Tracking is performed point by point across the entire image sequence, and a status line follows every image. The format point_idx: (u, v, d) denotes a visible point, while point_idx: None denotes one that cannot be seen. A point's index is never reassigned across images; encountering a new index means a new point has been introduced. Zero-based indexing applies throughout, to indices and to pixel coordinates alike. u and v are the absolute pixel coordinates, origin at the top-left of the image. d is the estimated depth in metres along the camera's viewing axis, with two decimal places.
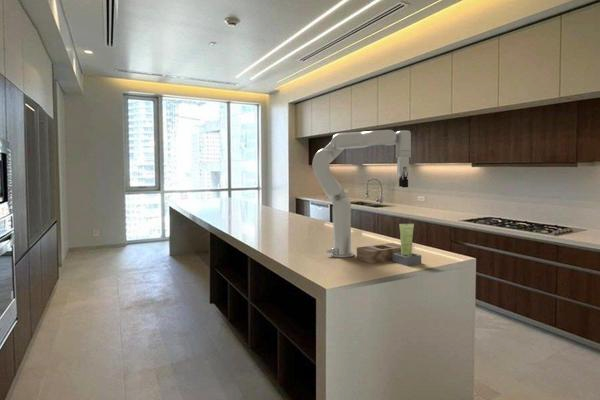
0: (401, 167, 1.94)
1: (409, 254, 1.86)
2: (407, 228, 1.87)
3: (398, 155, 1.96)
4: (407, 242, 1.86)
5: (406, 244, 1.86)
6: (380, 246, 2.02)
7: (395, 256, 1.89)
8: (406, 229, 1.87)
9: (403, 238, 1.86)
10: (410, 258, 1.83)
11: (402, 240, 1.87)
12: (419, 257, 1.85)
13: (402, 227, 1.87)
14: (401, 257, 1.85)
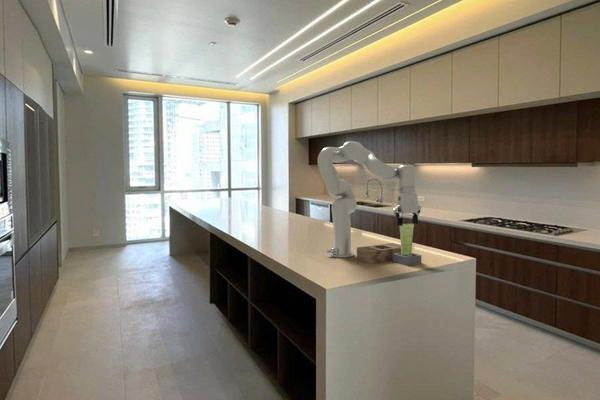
0: None
1: (409, 254, 1.86)
2: (407, 228, 1.87)
3: (414, 191, 1.84)
4: (407, 242, 1.86)
5: (406, 244, 1.86)
6: (380, 246, 2.02)
7: (395, 256, 1.89)
8: (406, 229, 1.87)
9: (403, 238, 1.86)
10: (410, 258, 1.83)
11: (402, 240, 1.87)
12: (419, 257, 1.85)
13: (402, 227, 1.87)
14: (401, 257, 1.85)
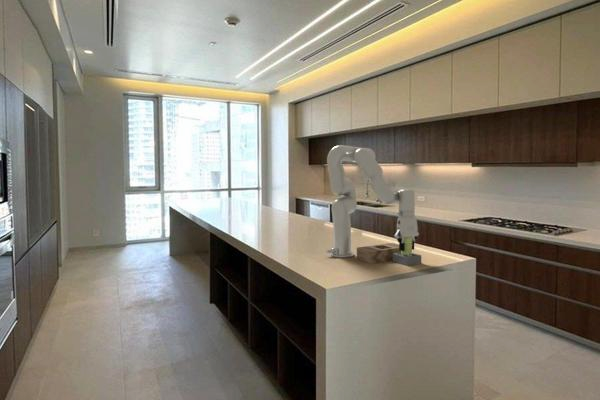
0: None
1: (409, 254, 1.86)
2: None
3: (414, 215, 1.85)
4: (407, 242, 1.86)
5: (406, 244, 1.86)
6: (380, 246, 2.02)
7: (395, 256, 1.89)
8: None
9: None
10: (410, 258, 1.83)
11: None
12: (419, 257, 1.85)
13: None
14: (401, 257, 1.85)
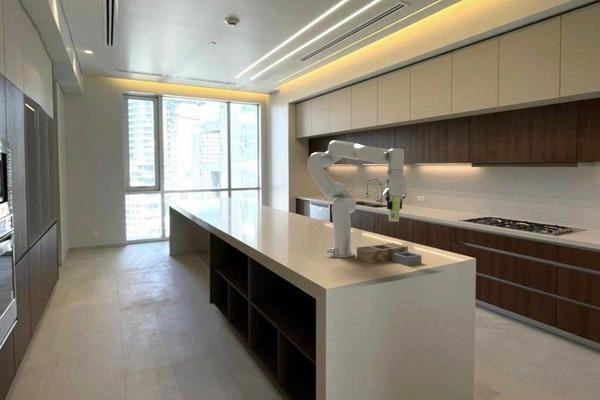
0: None
1: (397, 213, 1.89)
2: None
3: None
4: (395, 201, 1.89)
5: (394, 203, 1.89)
6: (380, 246, 2.02)
7: (395, 256, 1.89)
8: None
9: None
10: (410, 258, 1.83)
11: None
12: (419, 257, 1.85)
13: None
14: (401, 257, 1.85)
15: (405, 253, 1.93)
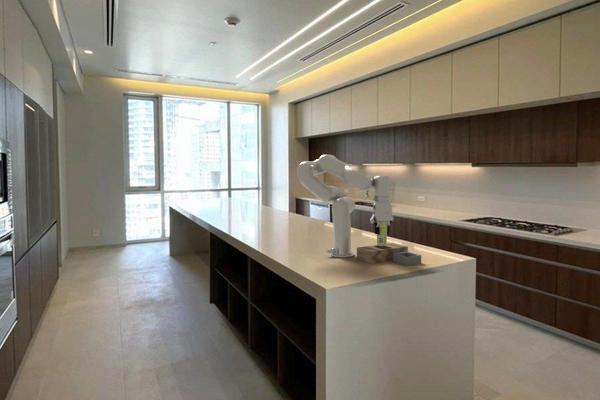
0: None
1: (384, 237, 1.95)
2: None
3: None
4: (382, 226, 1.95)
5: (381, 228, 1.95)
6: (380, 246, 2.02)
7: (395, 256, 1.89)
8: None
9: None
10: (410, 258, 1.83)
11: None
12: (419, 257, 1.85)
13: None
14: (401, 257, 1.85)
15: (405, 253, 1.93)
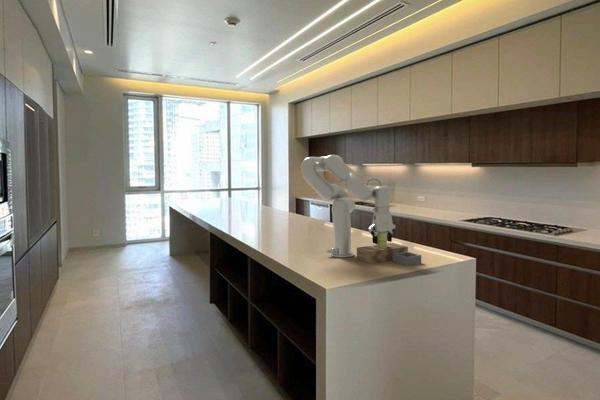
0: None
1: None
2: None
3: None
4: (382, 239, 1.96)
5: (381, 241, 1.96)
6: None
7: (395, 256, 1.89)
8: None
9: (378, 235, 1.96)
10: (410, 258, 1.83)
11: (377, 237, 1.96)
12: (419, 257, 1.85)
13: None
14: (401, 257, 1.85)
15: (405, 253, 1.93)
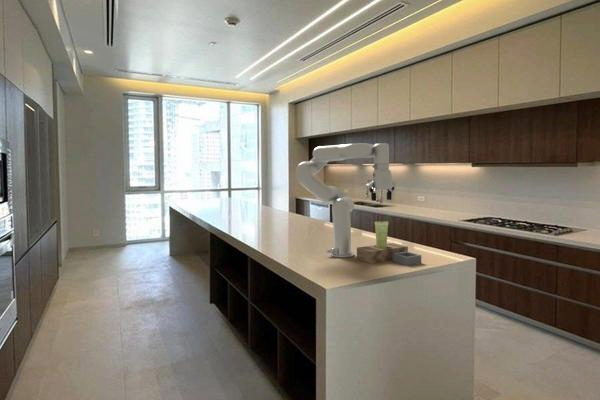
0: None
1: None
2: (382, 226, 1.97)
3: (388, 168, 1.94)
4: (382, 239, 1.96)
5: (381, 241, 1.96)
6: None
7: (395, 256, 1.89)
8: (381, 227, 1.96)
9: (378, 235, 1.96)
10: (410, 258, 1.83)
11: (377, 237, 1.96)
12: (419, 257, 1.85)
13: (377, 225, 1.96)
14: (401, 257, 1.85)
15: (405, 253, 1.93)
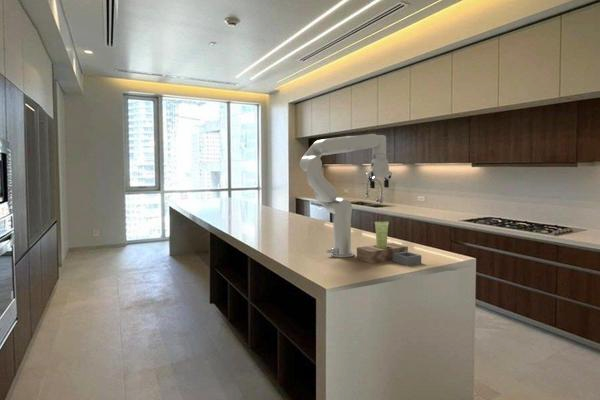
0: None
1: None
2: (382, 226, 1.96)
3: (385, 158, 2.10)
4: (382, 239, 1.96)
5: (381, 241, 1.96)
6: None
7: (395, 256, 1.89)
8: (381, 227, 1.96)
9: (378, 235, 1.96)
10: (410, 258, 1.83)
11: (377, 237, 1.96)
12: (419, 257, 1.85)
13: (377, 225, 1.96)
14: (401, 257, 1.85)
15: (405, 253, 1.93)
